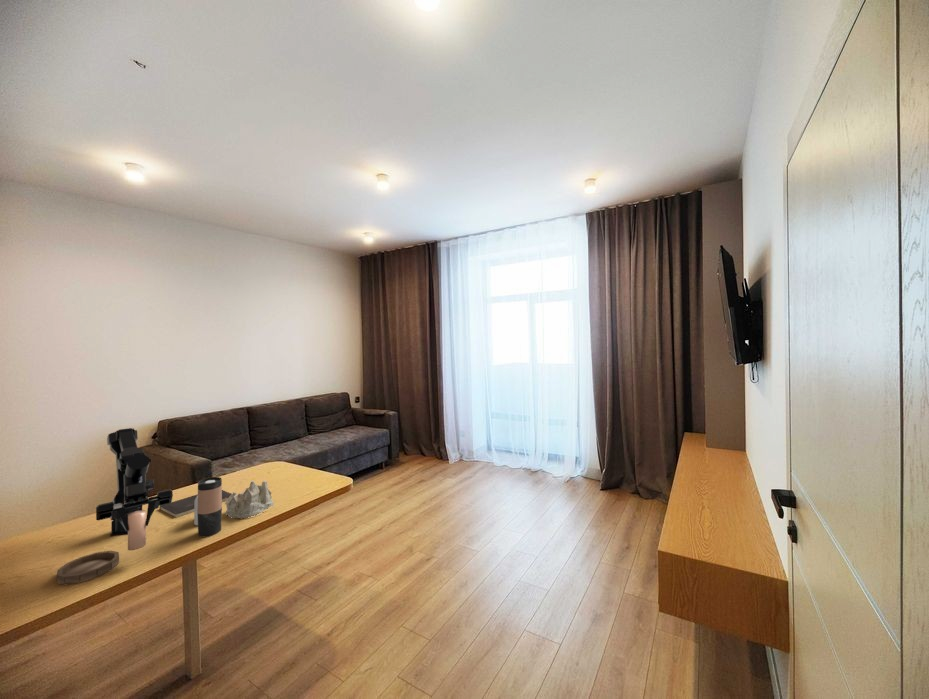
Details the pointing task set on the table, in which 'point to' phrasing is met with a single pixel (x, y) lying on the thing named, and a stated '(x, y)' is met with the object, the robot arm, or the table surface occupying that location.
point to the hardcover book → (186, 505)
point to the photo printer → (196, 511)
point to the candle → (136, 530)
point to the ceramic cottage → (249, 501)
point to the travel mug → (209, 506)
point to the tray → (87, 567)
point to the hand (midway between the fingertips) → (137, 528)
